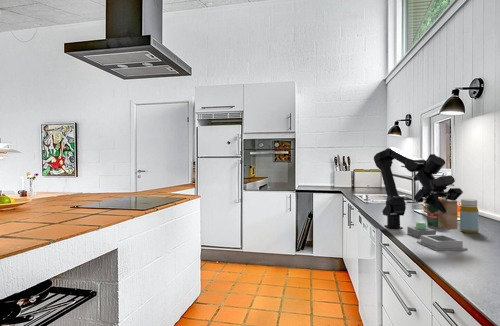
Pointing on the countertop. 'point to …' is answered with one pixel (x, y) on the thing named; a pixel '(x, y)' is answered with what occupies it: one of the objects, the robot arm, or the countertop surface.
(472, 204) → the bottle
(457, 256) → the countertop surface
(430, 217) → the canned tomato
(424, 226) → the button
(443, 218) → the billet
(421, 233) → the switch box
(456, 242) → the grey square socket
